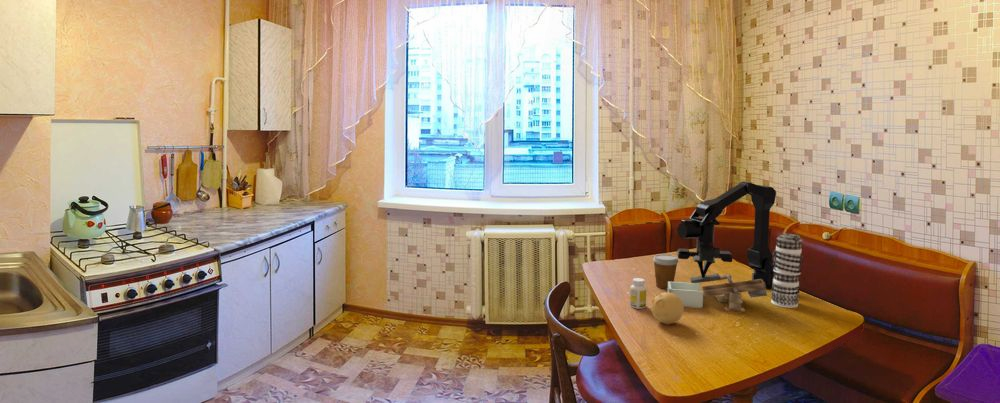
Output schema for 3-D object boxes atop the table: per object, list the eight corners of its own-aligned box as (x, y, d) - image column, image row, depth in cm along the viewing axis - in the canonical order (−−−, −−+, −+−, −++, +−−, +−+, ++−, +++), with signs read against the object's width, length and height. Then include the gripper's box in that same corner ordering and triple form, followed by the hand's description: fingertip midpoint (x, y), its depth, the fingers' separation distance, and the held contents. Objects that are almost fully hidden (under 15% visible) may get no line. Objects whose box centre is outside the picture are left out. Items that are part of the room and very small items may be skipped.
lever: (756, 281, 186) (754, 268, 185) (769, 298, 168) (766, 284, 167) (692, 289, 192) (690, 277, 192) (698, 306, 174) (695, 293, 174)
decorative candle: (764, 299, 182) (768, 232, 178) (788, 298, 183) (793, 231, 179) (780, 308, 173) (785, 238, 169) (805, 307, 174) (811, 237, 170)
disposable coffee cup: (678, 291, 192) (680, 260, 190) (653, 289, 194) (654, 259, 192) (675, 283, 202) (676, 254, 200) (650, 282, 203) (651, 253, 202)
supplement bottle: (646, 304, 178) (647, 278, 177) (645, 309, 173) (646, 282, 172) (630, 303, 180) (631, 276, 179) (629, 308, 175) (630, 281, 174)
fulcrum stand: (740, 298, 183) (741, 283, 182) (747, 311, 170) (748, 294, 169) (716, 297, 185) (717, 281, 184) (722, 309, 172) (723, 293, 172)
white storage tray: (699, 299, 183) (700, 283, 182) (702, 308, 174) (703, 291, 173) (667, 296, 186) (667, 281, 185) (668, 305, 177) (669, 289, 176)
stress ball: (683, 323, 163) (666, 297, 169) (694, 309, 156) (676, 282, 162) (657, 332, 161) (641, 306, 166) (667, 318, 153) (650, 291, 159)
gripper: (680, 240, 181) (678, 281, 183) (736, 243, 176) (733, 285, 179) (678, 233, 192) (676, 273, 194) (731, 236, 187) (728, 276, 189)
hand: (702, 277), depth 189 cm, fingers closed
